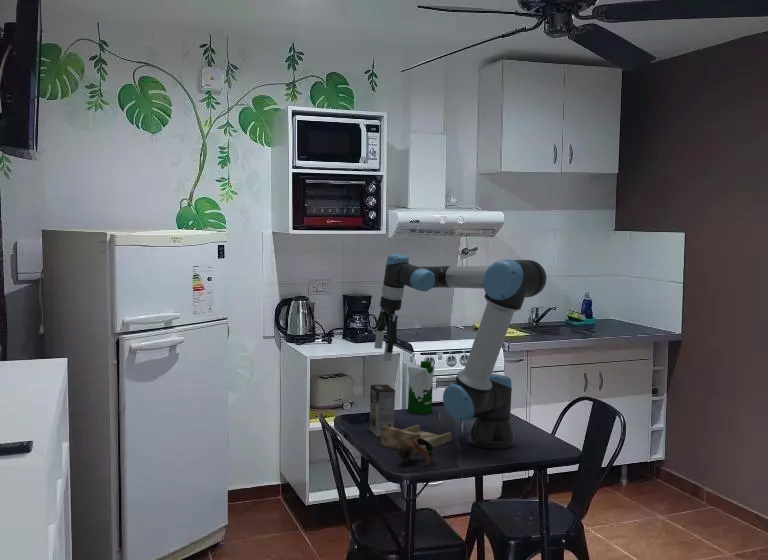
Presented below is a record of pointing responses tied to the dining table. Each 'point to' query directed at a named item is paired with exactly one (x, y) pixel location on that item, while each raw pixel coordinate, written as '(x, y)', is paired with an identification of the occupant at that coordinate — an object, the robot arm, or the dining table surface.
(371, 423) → the coffee box
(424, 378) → the milk carton
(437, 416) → the dining table surface
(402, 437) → the holder
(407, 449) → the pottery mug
